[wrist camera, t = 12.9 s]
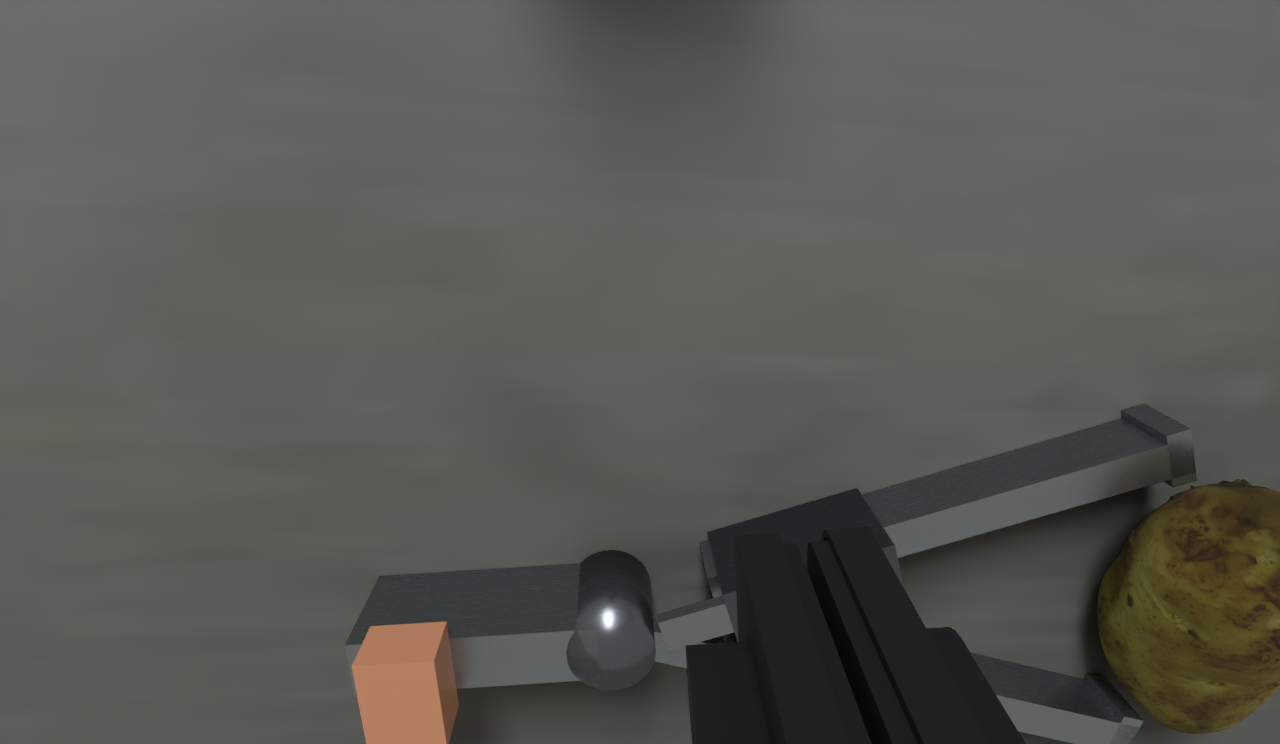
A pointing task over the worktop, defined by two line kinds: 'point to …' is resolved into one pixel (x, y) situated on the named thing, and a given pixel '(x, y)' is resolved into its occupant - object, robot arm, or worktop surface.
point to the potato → (1198, 607)
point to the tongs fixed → (655, 641)
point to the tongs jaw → (955, 505)
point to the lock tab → (406, 684)
